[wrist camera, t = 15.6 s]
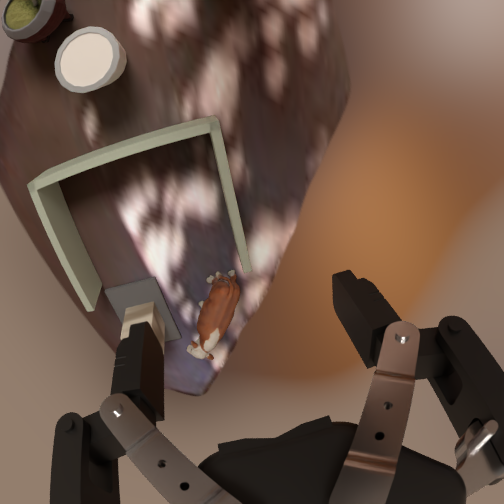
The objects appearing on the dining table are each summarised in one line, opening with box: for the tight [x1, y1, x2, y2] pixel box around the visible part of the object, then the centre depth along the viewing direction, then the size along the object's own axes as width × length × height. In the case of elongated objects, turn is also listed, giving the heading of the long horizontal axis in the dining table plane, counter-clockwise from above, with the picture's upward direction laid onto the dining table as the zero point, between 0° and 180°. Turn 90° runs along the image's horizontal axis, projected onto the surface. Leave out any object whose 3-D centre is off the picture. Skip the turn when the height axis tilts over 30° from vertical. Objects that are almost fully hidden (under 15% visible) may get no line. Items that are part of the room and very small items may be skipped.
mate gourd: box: [2, 0, 73, 43], centre depth 17 cm, size 8×8×15 cm
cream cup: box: [55, 26, 127, 93], centre depth 26 cm, size 7×7×7 cm
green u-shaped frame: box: [27, 115, 252, 312], centre depth 36 cm, size 18×22×6 cm
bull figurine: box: [187, 270, 240, 360], centre depth 44 cm, size 4×13×8 cm, turn 152°
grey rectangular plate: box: [105, 277, 181, 342], centre depth 46 cm, size 12×8×1 cm, turn 10°
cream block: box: [121, 301, 165, 354], centre depth 43 cm, size 5×5×6 cm
